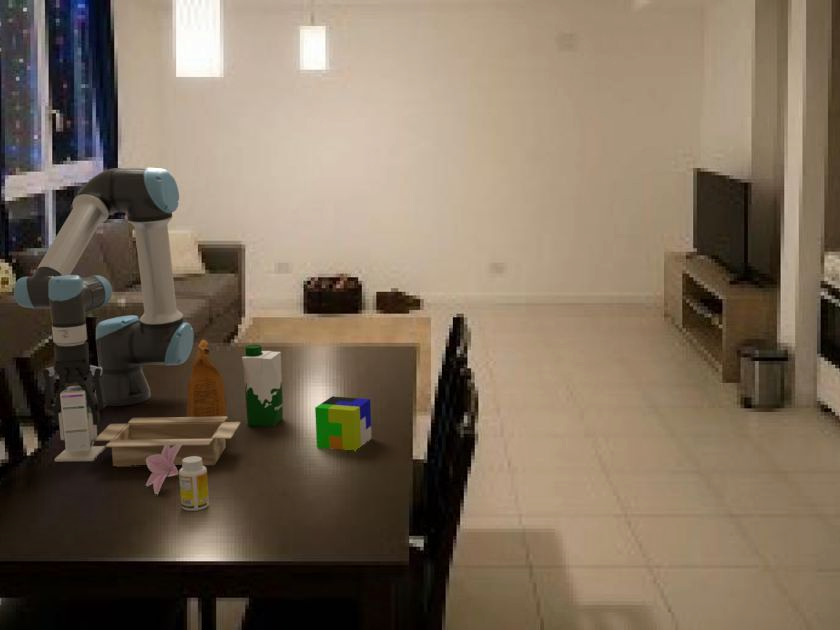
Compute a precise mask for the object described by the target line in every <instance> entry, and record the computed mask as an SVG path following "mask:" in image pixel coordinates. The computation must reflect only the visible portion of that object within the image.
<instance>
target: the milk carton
mask: <svg viewBox="0 0 840 630" xmlns="http://www.w3.org/2000/svg"><path fill="white" fill-rule="evenodd" d="M241 360H242V367H243V373H244V377H243V378H244V392H245V394H244V395H245V408H246V409H245V410H246V421H247V422H246V423H247V426H252V427H254V426H255V427H275V426H276V425H277V424H278V423H279V422H280V421H281V420H283V418H284V417H283V415H284V414H283V413H284V412H283V411H284V408H283V407H284V404H283V403H284V400H283V398H284V397H283V383H282V381H283V380H282V352H281V351H272V350H262V345H260V344H249V345H246V346H245V354H244V355H243V356H242V357H241Z"/></svg>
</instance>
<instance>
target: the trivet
mask: <svg viewBox="0 0 840 630" xmlns="http://www.w3.org/2000/svg"><path fill="white" fill-rule="evenodd" d="M104 450H106V445H100V446H99V445H97V446H96V445H93V446H92V448H91V450H90V451H79V452H66V448H65V449H64V450H63V451H61V453H59V454H58V455H57V456H56V457H55V458H54V462H95V460H96V459H97V458H98V457H99V456H100V455H99V454H100V453H103V452H104ZM98 455H99V456H98ZM97 456H98V457H97ZM95 458H96V459H95Z"/></svg>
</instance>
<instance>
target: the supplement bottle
mask: <svg viewBox="0 0 840 630" xmlns="http://www.w3.org/2000/svg"><path fill="white" fill-rule="evenodd" d="M178 475H179V477H178V479H179V490H180V502H181V503H180V505H181V507H182V509H183V510H185V511H188V512H195V511H196V512H197V511H201V510H204V509H206V508H208V506H209V504H210V498H209V497H210V495H209V483H208V482H209V481H208V470H207V467H206V465H203V463H202V458H201V457H198V456H191V457H186V458H184V459H183V460H182V467H181V468H180V469H179V470H178Z"/></svg>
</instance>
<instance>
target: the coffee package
mask: <svg viewBox="0 0 840 630" xmlns="http://www.w3.org/2000/svg"><path fill="white" fill-rule="evenodd" d="M197 348H198V350H197V352H196V353H197V354H196V356H195V358H194V360H193V364H192V368H191V374H190V378H189V382H188V386H187V393H186V394H187V395H186V417H226V416H227V395H226V391H225V387H224V383H223V382H224V381H223V379H222V376H221V373H220V372H219V371H218V369H217V368H216V366H215V364H213V363H212V361H211V360H210V359H209V358H208V355H210V354H211V351H210V349H208V348H209V342H208V341H207V340H205V339H202V340H200V343H199V344H198V345H197ZM225 422H227V420H226V421H225Z"/></svg>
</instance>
